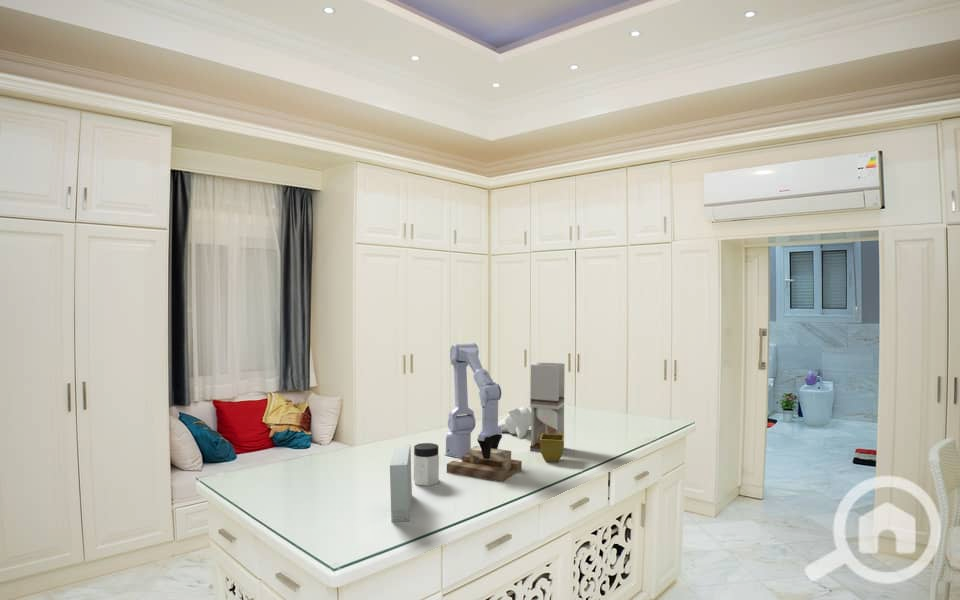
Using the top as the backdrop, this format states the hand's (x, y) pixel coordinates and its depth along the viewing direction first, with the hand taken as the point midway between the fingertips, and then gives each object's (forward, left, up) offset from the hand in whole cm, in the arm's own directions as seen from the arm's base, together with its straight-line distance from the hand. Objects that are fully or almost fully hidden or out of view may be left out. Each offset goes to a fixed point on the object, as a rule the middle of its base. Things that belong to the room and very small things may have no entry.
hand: (489, 456), depth 197 cm
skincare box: (-8, -43, -6) cm, 44 cm away
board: (-2, 0, -5) cm, 6 cm away
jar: (-14, -20, -6) cm, 25 cm away
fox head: (-15, +57, -6) cm, 59 cm away
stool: (0, 0, -4) cm, 4 cm away
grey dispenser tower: (+8, +38, -6) cm, 39 cm away
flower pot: (+15, +24, -6) cm, 29 cm away
